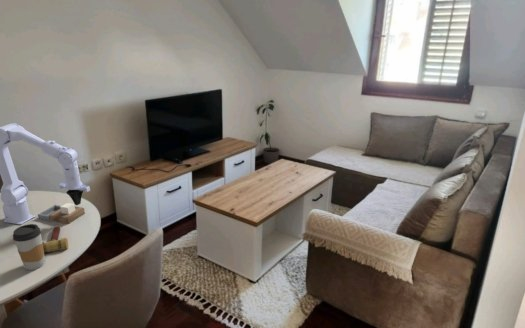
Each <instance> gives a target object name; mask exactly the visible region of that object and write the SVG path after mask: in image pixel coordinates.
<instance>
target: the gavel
mask: <svg viewBox="0 0 525 328" xmlns="http://www.w3.org/2000/svg"><path fill="white" fill-rule="evenodd" d="M60 232H61V228H60V225H56V226H54V227H53V229H52V232H51V237H50V239H49V241H45V242H44V241H42V243H43V249H44V254H46V253H50V252H56V251H60V250H62V251H65V250H68V249H69V239H68V238H67V237H63V238H60V239H59V236H60Z"/></svg>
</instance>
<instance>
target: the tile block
mask: <svg viewBox="0 0 525 328" xmlns="http://www.w3.org/2000/svg"><path fill="white" fill-rule="evenodd" d="M60 206H61V207H60V208H61V213H64V214H70V213H72V212H73V211H75V207H76V205H75V204H74V203H69V202H66V203H64V204H63V205H60Z"/></svg>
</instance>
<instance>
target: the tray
mask: <svg viewBox="0 0 525 328" xmlns="http://www.w3.org/2000/svg"><path fill="white" fill-rule="evenodd" d="M61 206H62V205H60V204H59V205H56V204H54V205H53V206H51V207H49V208H48V209H45V210H43V211H41V212H40V213H38V214H37V217H38V220H42V219H44V220H43V221H48V220H49V221H48V222H51V221H50V217H49V215H50V214H52V213H53V212H55V211H57V210H59V209H60V207H61Z"/></svg>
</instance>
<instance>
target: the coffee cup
mask: <svg viewBox="0 0 525 328" xmlns="http://www.w3.org/2000/svg"><path fill="white" fill-rule="evenodd" d="M41 234H42V230H41V228H40V226H38V225H37V224H33V223H28V224H24V225H20V226H19V227H17V228H15V229H14V230H13V234H12V239H13V241H14V243H15V247H16V248H17V251H18V254H19V257H20V260H21V261H22V262H21V263H23V267H24V268H25V269H26V270H28V271H33V270H38V269H40V268H41V267H43V266H44V265H45V262H46V258H45V253H44V249H43V243H42V242H43V240H42V239H43V238H42V235H41Z"/></svg>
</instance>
